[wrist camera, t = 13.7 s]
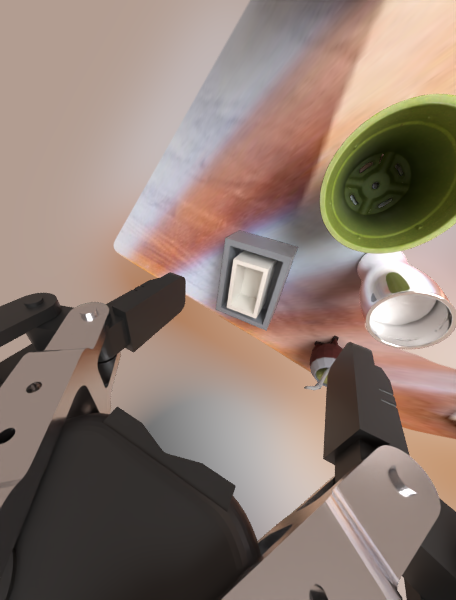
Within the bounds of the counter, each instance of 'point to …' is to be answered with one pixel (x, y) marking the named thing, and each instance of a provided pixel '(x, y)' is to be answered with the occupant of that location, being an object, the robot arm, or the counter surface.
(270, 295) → the slate crate
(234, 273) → the white crate
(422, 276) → the beer glass
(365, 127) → the plant pot
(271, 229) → the counter surface
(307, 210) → the counter surface
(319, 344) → the mate gourd
